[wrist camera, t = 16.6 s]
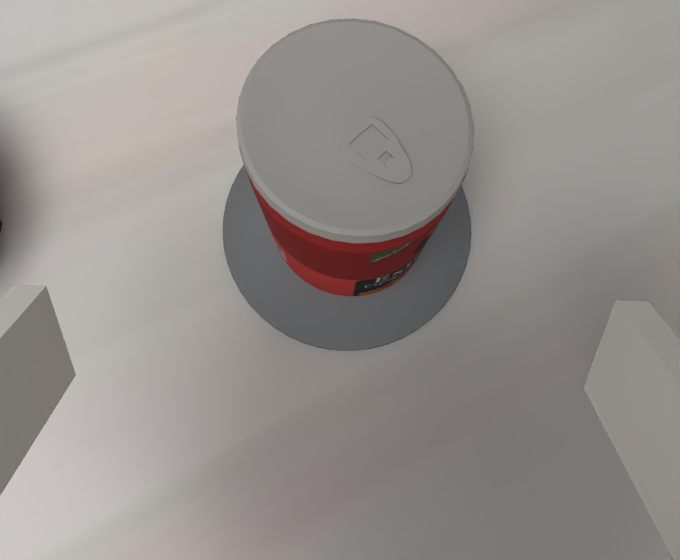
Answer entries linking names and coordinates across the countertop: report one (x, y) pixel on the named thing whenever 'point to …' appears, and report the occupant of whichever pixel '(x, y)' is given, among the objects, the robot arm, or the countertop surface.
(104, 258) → the countertop surface
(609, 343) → the robot arm
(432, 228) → the canned food
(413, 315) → the mat
